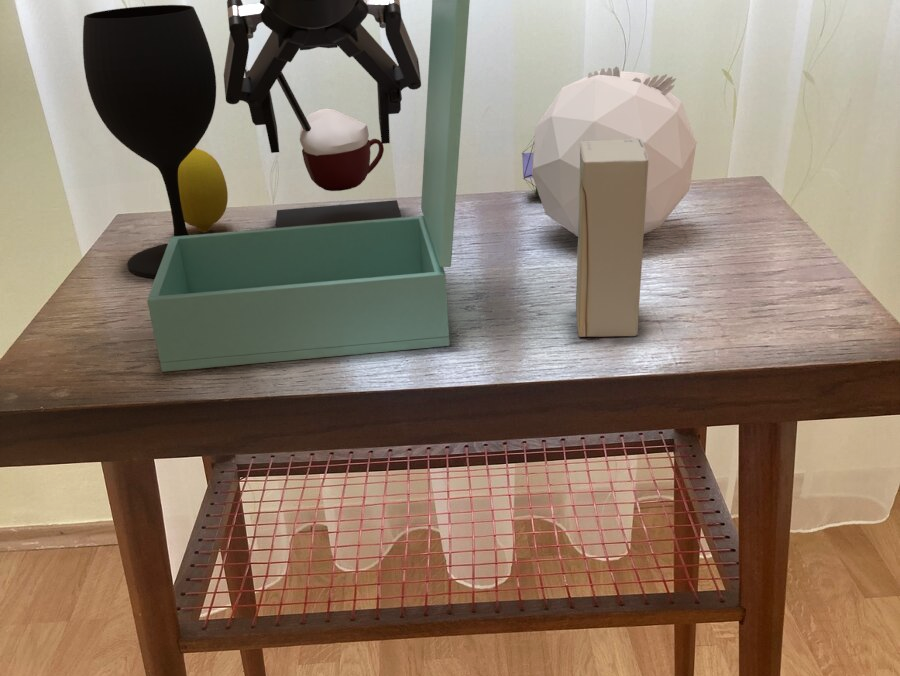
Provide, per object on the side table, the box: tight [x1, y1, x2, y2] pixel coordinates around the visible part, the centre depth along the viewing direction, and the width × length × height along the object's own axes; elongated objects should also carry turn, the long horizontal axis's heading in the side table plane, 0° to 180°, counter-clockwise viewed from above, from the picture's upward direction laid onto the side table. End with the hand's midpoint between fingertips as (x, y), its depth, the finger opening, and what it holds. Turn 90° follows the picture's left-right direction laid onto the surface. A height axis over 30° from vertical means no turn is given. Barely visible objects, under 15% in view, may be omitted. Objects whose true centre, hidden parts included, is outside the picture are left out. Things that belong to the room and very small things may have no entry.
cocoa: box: [276, 70, 385, 192], centre depth 100 cm, size 10×6×12 cm, turn 91°
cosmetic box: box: [575, 138, 648, 338], centre depth 77 cm, size 6×4×12 cm
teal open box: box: [146, 215, 451, 373], centre depth 83 cm, size 20×15×5 cm
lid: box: [420, 0, 471, 268], centre depth 76 cm, size 21×15×4 cm
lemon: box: [178, 146, 229, 233], centre depth 105 cm, size 6×6×8 cm
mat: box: [274, 199, 402, 228], centre depth 105 cm, size 12×12×1 cm
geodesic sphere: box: [532, 66, 698, 237], centre depth 94 cm, size 15×14×14 cm
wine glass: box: [82, 4, 217, 279], centre depth 94 cm, size 10×10×20 cm
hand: (329, 135), depth 103 cm, fingers closed on cocoa, 10 cm apart
